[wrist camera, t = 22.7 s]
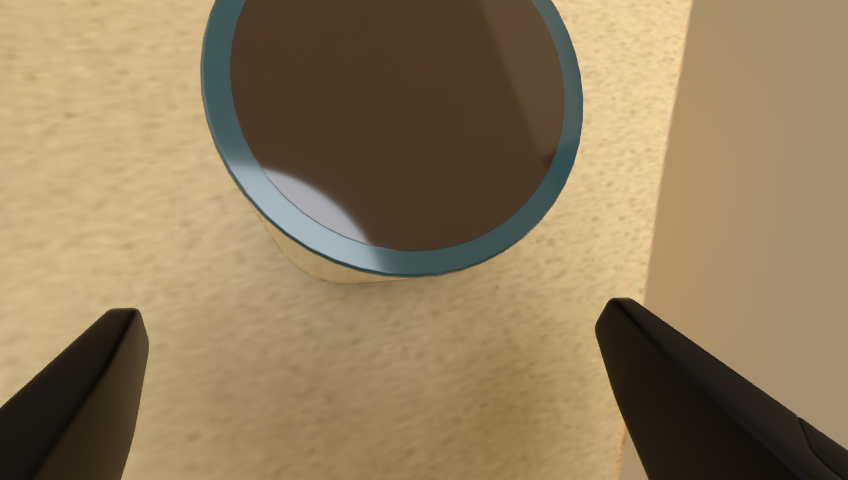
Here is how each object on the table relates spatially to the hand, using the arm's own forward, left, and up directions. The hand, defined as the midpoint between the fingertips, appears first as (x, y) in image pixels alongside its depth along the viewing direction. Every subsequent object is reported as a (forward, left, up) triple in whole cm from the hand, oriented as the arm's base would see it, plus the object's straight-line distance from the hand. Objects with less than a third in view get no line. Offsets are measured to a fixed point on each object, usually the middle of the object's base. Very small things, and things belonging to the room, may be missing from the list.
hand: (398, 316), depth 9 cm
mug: (+5, 0, -11) cm, 12 cm away
